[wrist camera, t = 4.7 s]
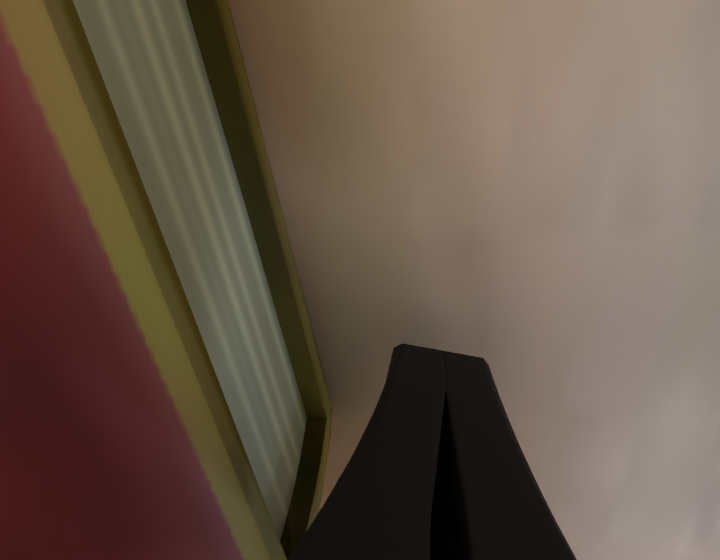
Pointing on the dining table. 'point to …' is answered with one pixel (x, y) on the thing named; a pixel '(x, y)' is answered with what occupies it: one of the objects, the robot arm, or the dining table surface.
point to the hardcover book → (146, 296)
